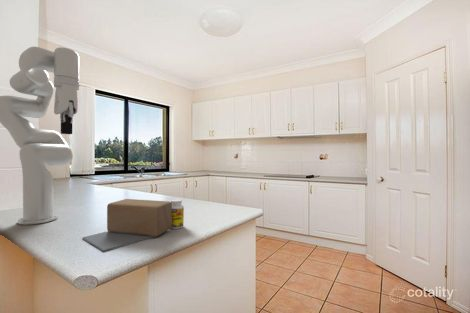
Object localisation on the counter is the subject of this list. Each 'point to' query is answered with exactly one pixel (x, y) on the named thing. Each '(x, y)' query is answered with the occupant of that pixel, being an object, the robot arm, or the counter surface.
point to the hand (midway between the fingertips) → (66, 133)
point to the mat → (113, 240)
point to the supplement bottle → (177, 214)
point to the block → (139, 217)
